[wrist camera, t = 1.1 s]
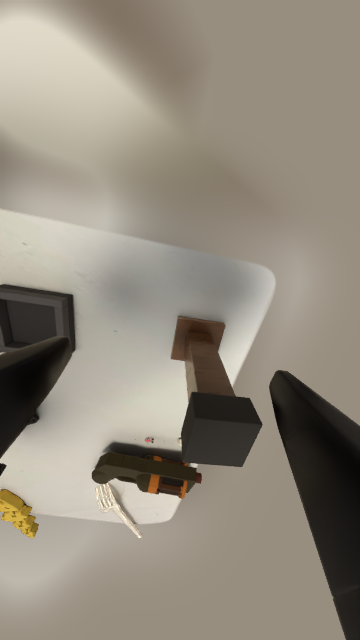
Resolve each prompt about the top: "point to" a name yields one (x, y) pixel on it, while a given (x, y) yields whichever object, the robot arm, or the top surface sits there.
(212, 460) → the black block
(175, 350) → the stand
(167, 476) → the toy gun
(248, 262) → the top surface
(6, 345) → the base pad
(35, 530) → the toy
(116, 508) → the fork
